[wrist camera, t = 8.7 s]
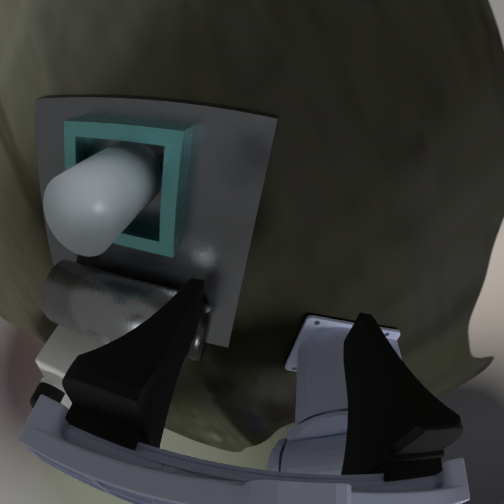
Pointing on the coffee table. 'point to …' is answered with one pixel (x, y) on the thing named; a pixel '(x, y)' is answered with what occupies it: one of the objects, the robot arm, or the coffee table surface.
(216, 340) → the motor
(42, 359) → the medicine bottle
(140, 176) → the white rounded cylinder
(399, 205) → the coffee table surface
